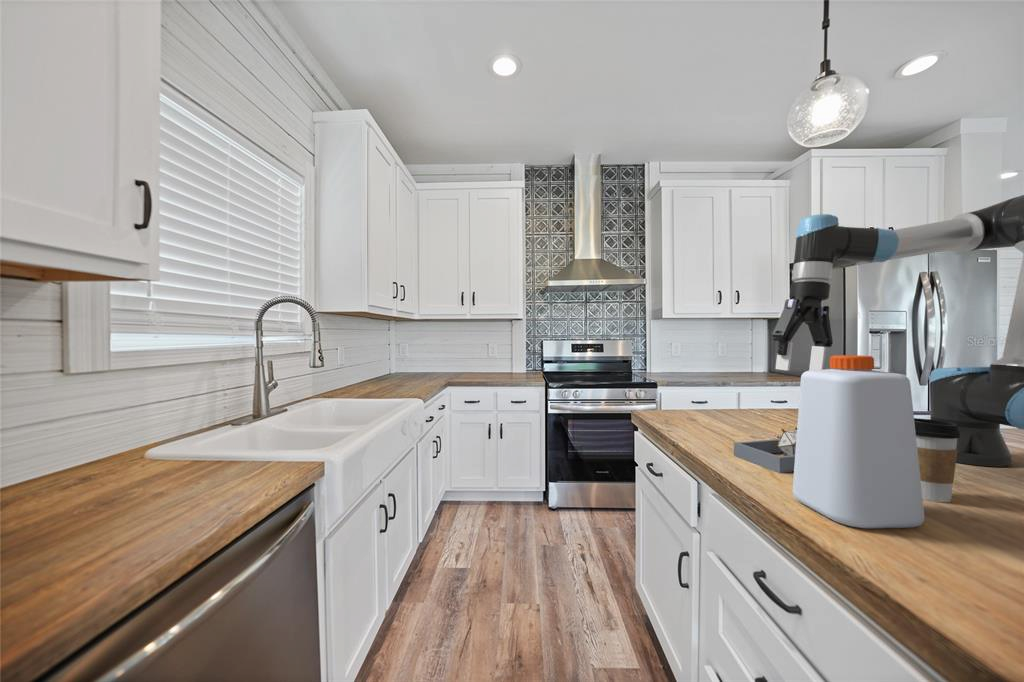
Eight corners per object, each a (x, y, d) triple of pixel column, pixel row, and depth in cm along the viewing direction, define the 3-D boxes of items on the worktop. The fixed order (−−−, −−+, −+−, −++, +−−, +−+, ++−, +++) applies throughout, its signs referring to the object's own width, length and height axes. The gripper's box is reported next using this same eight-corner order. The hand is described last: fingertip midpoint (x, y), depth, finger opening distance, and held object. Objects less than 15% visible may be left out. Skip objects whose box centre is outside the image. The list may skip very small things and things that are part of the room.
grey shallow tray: (790, 450, 109) (790, 438, 109) (842, 466, 95) (842, 452, 95) (733, 455, 105) (733, 442, 105) (779, 473, 91) (779, 457, 91)
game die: (804, 476, 99) (830, 451, 94) (769, 463, 101) (793, 437, 95) (796, 451, 106) (820, 426, 101) (764, 438, 108) (785, 413, 102)
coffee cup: (887, 487, 82) (886, 415, 82) (933, 489, 81) (932, 415, 81) (923, 504, 74) (922, 424, 74) (975, 506, 72) (974, 424, 72)
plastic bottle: (940, 530, 64) (938, 357, 64) (847, 532, 64) (846, 358, 63) (857, 493, 79) (855, 353, 79) (782, 495, 79) (780, 354, 79)
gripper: (821, 290, 102) (812, 371, 103) (761, 275, 92) (750, 366, 92) (857, 289, 96) (846, 376, 96) (796, 272, 85) (784, 370, 85)
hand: (799, 371), depth 94 cm, fingers open, 13 cm apart
